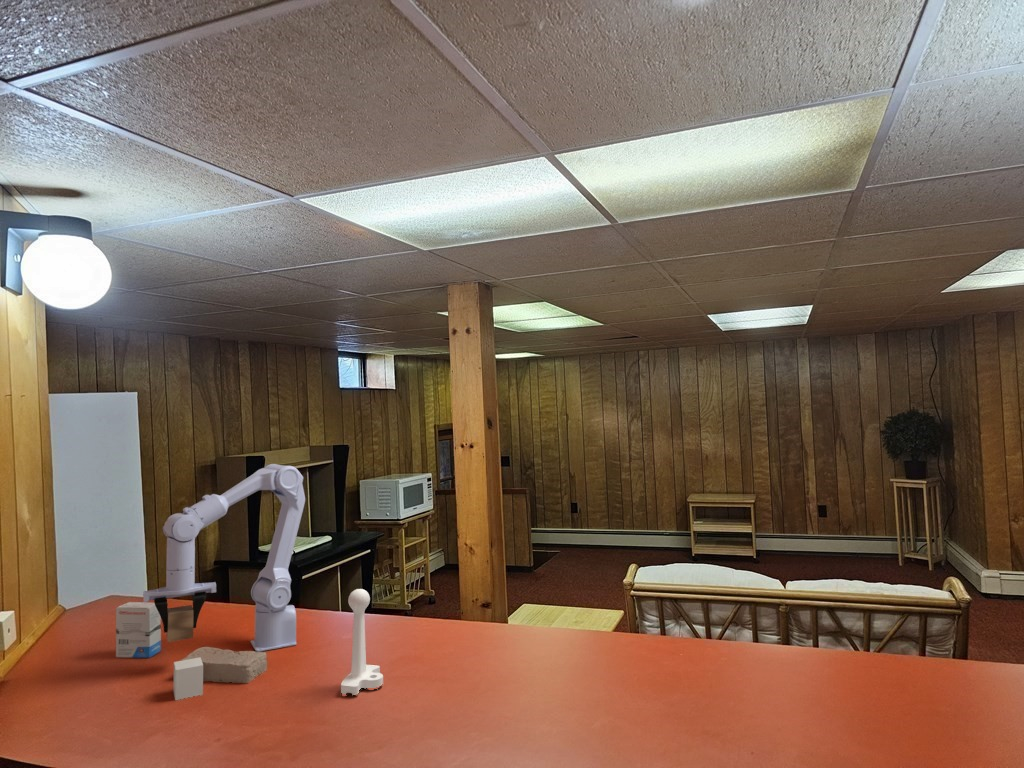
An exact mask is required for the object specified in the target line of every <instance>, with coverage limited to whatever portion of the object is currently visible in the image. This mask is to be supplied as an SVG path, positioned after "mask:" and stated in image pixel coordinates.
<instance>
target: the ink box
mask: <svg viewBox="0 0 1024 768" xmlns="http://www.w3.org/2000/svg"><path fill="white" fill-rule="evenodd" d="M115 617H116V618H115V657H116V658H134V659H137V658H139V659H142V658H144V659H150V658H152V657H153V656H155V655H156V654H158V653H160V652H161V651H162V619H161V616H160V614H159V612H158V610H157V608H156V606H155V603H154V602H143V601H142V602H137V601H128V602H127V603H124V604H121V605H119V606H117V607H116V608H115Z"/></svg>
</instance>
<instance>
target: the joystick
mask: <svg viewBox="0 0 1024 768" xmlns="http://www.w3.org/2000/svg"><path fill="white" fill-rule="evenodd" d="M370 596H371V595H370V594H369V592H368V591H367V590H365V589H363V588H356V589H354V590H353V591H351V592H350V594H349V596H348V606H349V607H350V608H351V610H352V612H353V624H352V625H353V626H352V629H353V630H352V645H351V646H352V647H351V648H352V649H351V650H352V651H351V670H350V673H348V674H347V675H346V676H345V677H344V678H343V679H342V682H341V683H340V694H341V693H342V694H346V693H347V694H352V695H351V696H353V695H356V694H358V693H359V692H360V691H361V690H362V689H361V688H364V689H366V688H376V687H379V686H381V685H382V684H383V685H384V675H383V673H381V672H380V671H381V667H380V665H376V664H375V665H373V664H367V658H366V657H367V654H366V648H367V647H366V626H365V625H366V621H365V619H366V618H365V611H366V609H367V607H368V606H369V604H370V603H371V602H370V601H371V597H370ZM360 689H361V690H360ZM359 690H360V691H359ZM358 695H359V694H358ZM356 696H357V695H356Z"/></svg>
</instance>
